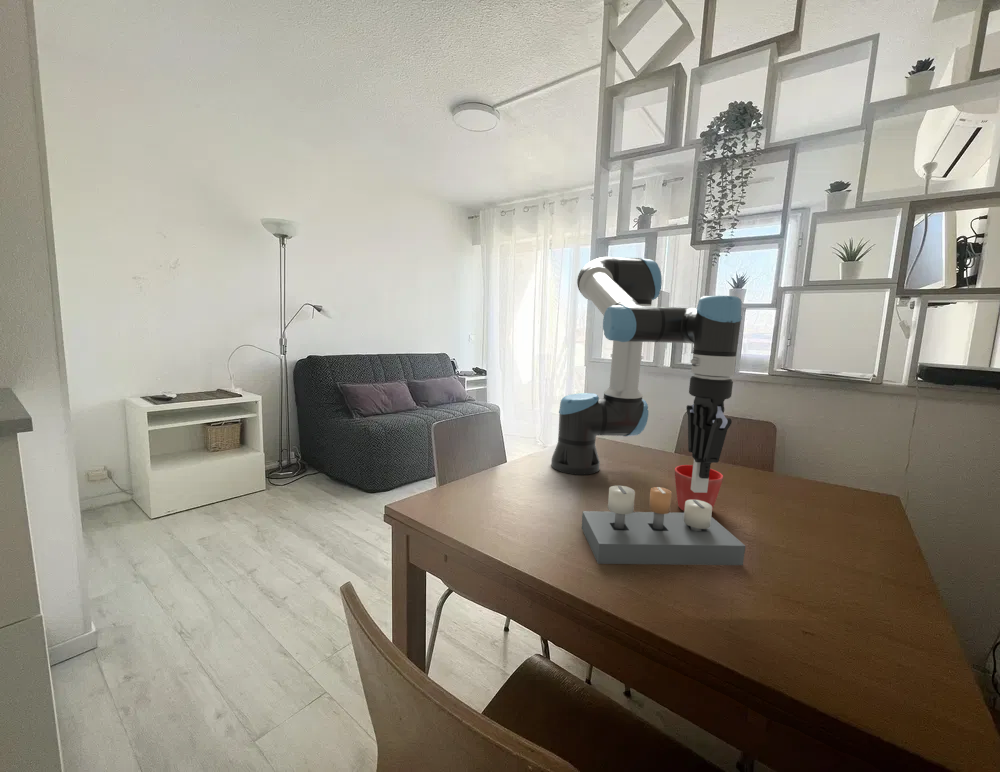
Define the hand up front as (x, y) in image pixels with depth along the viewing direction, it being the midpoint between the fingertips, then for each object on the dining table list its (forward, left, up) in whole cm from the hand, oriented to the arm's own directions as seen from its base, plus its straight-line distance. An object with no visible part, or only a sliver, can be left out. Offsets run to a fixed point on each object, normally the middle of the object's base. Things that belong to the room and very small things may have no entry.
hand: (698, 490), depth 86 cm
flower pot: (-18, +9, -12) cm, 23 cm away
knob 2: (0, 0, -11) cm, 11 cm away
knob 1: (0, -16, -8) cm, 18 cm away
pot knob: (0, -8, -8) cm, 11 cm away
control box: (0, -8, -12) cm, 14 cm away
